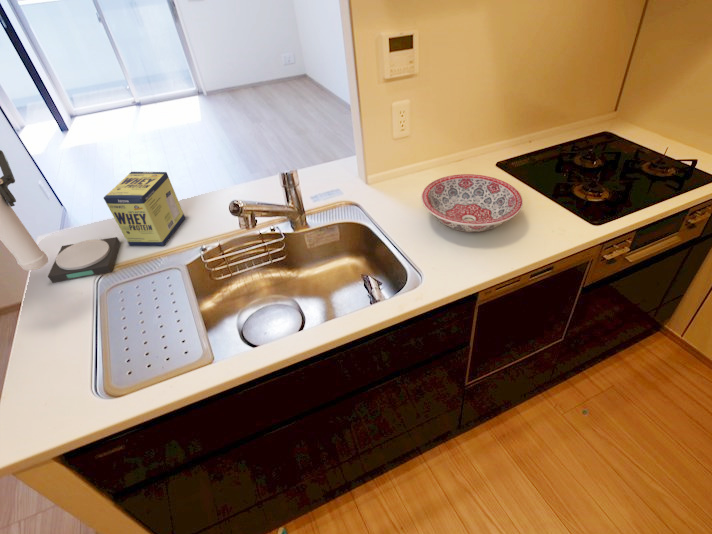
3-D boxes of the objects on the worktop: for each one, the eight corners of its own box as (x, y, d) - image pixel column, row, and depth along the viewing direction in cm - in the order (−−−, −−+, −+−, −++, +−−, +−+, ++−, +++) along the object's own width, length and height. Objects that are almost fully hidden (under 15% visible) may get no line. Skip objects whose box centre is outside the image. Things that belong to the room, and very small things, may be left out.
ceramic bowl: (536, 238, 122) (542, 213, 116) (441, 257, 116) (443, 232, 110) (491, 190, 142) (494, 168, 137) (408, 205, 136) (408, 182, 131)
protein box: (128, 246, 121) (101, 197, 111) (153, 217, 133) (131, 170, 122) (164, 246, 121) (141, 197, 110) (186, 217, 132) (167, 170, 122)
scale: (52, 283, 110) (45, 274, 108) (66, 252, 120) (60, 243, 118) (111, 272, 113) (106, 263, 111) (120, 243, 123) (115, 234, 120)
